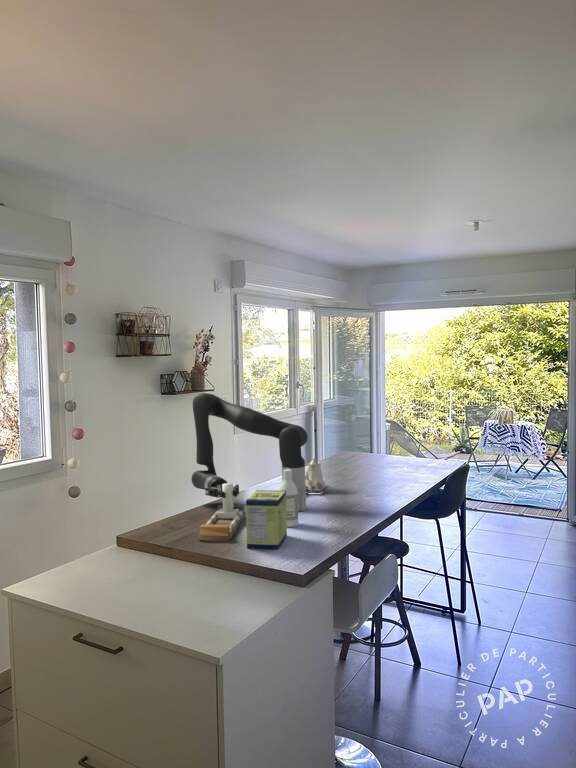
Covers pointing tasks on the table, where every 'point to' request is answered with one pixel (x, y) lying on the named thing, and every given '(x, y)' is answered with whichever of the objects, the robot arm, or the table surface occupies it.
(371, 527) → the table surface
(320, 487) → the chinaware
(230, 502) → the keeper
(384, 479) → the table surface
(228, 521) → the rail
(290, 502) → the bath foam
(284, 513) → the protein box
